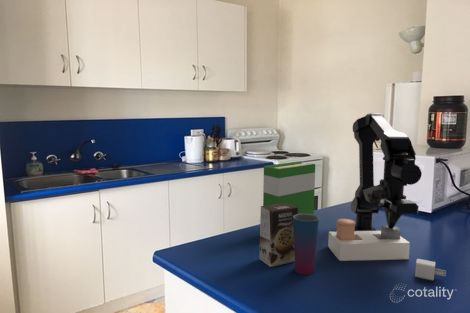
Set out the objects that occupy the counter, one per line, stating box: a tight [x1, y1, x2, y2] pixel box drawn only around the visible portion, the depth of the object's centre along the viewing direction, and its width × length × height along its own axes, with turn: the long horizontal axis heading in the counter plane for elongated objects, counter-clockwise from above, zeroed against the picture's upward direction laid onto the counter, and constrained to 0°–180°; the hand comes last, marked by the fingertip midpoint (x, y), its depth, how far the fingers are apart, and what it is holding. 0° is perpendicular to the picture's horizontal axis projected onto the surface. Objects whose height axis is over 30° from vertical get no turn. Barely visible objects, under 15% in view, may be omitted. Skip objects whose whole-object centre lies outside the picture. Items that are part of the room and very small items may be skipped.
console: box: [327, 230, 411, 262], centre depth 113 cm, size 11×21×5 cm, turn 93°
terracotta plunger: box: [335, 218, 356, 240], centre depth 112 cm, size 5×5×6 cm
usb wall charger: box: [414, 258, 447, 282], centre depth 97 cm, size 4×7×4 cm, turn 60°
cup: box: [293, 214, 320, 276], centre depth 100 cm, size 7×7×15 cm
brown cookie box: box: [259, 203, 298, 268], centre depth 106 cm, size 9×6×16 cm
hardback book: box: [262, 160, 316, 215], centre depth 130 cm, size 18×7×24 cm, turn 127°
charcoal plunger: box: [380, 224, 401, 240], centre depth 113 cm, size 5×5×6 cm
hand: (390, 228), depth 113 cm, fingers closed, pressing on charcoal plunger
